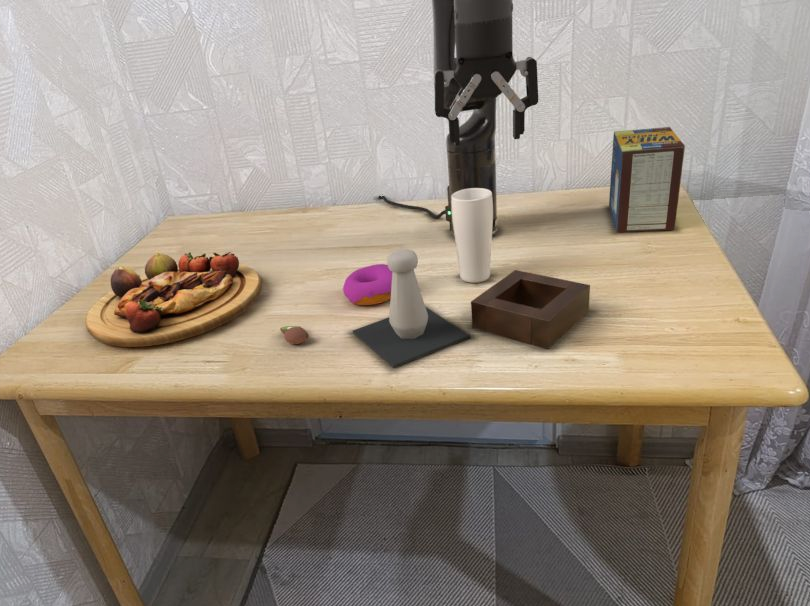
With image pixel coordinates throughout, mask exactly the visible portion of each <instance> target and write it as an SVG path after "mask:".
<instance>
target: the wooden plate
mask: <svg viewBox="0 0 810 606" xmlns="http://www.w3.org/2000/svg"><path fill="white" fill-rule="evenodd" d="M212 254H213V255H214V256H209V257H208V256H207V254H206V253H203V254H201V255H196V256H193V255H192V253H191V251H189V252H187V253H184V254H183V255H181V257H180V258H179V260H178V262H177V261H176V260H175V259H174V258H173V257H171V256H170V255H167V254H162V253H159V252H156V253H154V255H153V256H151V257H150V258H149V260H148V261H147V262H146V264H145V266H144V275H142V276H140V275H139V274H138V273H137V272H136V271H134V270H133V269H132V268H129V267H125V266H121V265H120V266H118V267H117V268H115V270H113V272H112V274H111V276H110V288H111V291H109V292H107V293H106V294H105V295H103V296H102V297H101V298H100V299H98V300H97V301H96V302H94V304H93V305H92V306H91V308H90V309H89V310H88V312H87V313H86V314H87V315H86V318H85V327H86V330H87V332H88V333H89V335H90V336H91V337H92V338H93V339H95V340H97V342H101V343H103V344H106V345H111V346H115V347H125V348H126V347H128V348H129V347H130V348H132V347H133V348H137V347H139V348H140V347H150V346H158V345H164V344H165V345H166V344H170V343H174V342H178V341H183V340H185V339H189V338H193V337H196V336H199V335H202V334H205V333H206V332H209V331H212V330H214V329H216V328H218V327H220V326H222V325H224V324H226V323H228V322H230V321H232V320H234V319H235V318H237V317H238V316H240V315H241V314H242V313H244V312H245V311H246V310H248V309H249V308H250V307H251V306H252V305H253V304H254V303H255V301H256V300H258V297H259V296H260V294H261V291H262V287H263V286H262V284H263V283H262V279H261V276H260V274H259V273H258V272H257V271H256V270H255V269H254V268H252V267H250V266H248V265H247V264H245V263H244V264H243V263H240V260H239V258H238V256H237V255H235V253H232V252H231V251H229V252H226V253H225V254H222V255H220V254H218V253H217V252H212ZM177 263H178V264H177Z"/></svg>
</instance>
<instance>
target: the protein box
mask: <svg viewBox="0 0 810 606" xmlns="http://www.w3.org/2000/svg"><path fill="white" fill-rule="evenodd" d="M685 150H686V145H685V143H683V142H682V140H681V138H679V136H678V135H677V134H676V133H675V131H674V130H673V129H672V128H671V127H670V126H664V127H651V128H640V129H628V130H617V131H616V130H615V131H613V136H612V152H611V154H612V155H611V169H610V170H611V171H610V181H609V182H610V184H609V199H608V208H609V211H610V215H611V218H612V223H613V226H614V230H615V233H631V232H655V231H656V232H657V231H674V230H675V229H676V224H677V223H676V222H677V221H676V220H677V213H678V207H679V200H680V199H679V198H680V191H681V183H682V174H683V165H684V158H685Z"/></svg>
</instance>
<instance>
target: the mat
mask: <svg viewBox="0 0 810 606" xmlns="http://www.w3.org/2000/svg"><path fill="white" fill-rule="evenodd" d="M425 307H426V311H427V314H428V321H427V325H426V327H425V330H424V333H423V334H422V335H420V336H418V337H417V338H415V339H402V338H401V337H400V336H398V335H397V334H396V332H395V331H394V329H393V328H392V326H391V324H390V322H389V317H386V318H383V319H380V320H378V321H375V322H371V323H370V324H367V325H364V326H362V327H359V328H356V329H354V330H353V329H352V334H353V335H354V336H355V337H356V338H358V339H359V340H360V341H361V342H362V343H363V344H365V345H366V346H367V347H369V349H371V350H372V351H373V352H374V353H375V354H376V355H378V357H380V359H382V360H383V361H385V362H386V363H387V365H389V366H390V367H392V368H393V369H395V368H398V367H400V366H403V365H405V364H408V363H410V362H413V361H415V360H418V359H420V358H423V357H425V356H428V355H431V354H433V353H435V352H438V351H440V350H443V349H445V348H448V347H450V346H453V345H455V344H458V343H460V342H464V341H466V340H468V339H470V337H471V335H470V334H469V333H467V332H465V331H464V330H463V329H461V328H459V327H457V326H456V325H455V324H454V323H452V322H450V321H449V320H447V319H445V318H444V317H442V316H440V315H439V314H438V313H436V312H434V311H432V310H431V309H430V308H428V307H427V306H425Z"/></svg>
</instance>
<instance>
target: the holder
mask: <svg viewBox="0 0 810 606" xmlns="http://www.w3.org/2000/svg"><path fill="white" fill-rule="evenodd" d="M590 294H591V284H587V283H583V282H578V281H577V282H576V281H574V280H573V281H572V280H568V279H563V278H557V277H552V276H548V275H542V274H537V273H532V272H527V271H523V270H517V269H515V270H513V271H512V272H510V273H508V274H507V275H506V276H504V277H503V278H502V279H500V280H499V281H498V282H496V283H494V284H493V285H492V286H490V287H489V288H488V289H486V290H484V291H483V292H482V293H481V294H479V295H478V296H477V297H475V298H474V299H472V300H471V301H470V310H471V311H470V312H471V314H470V315H471V328H472V329H474V330H479V331H482V332H486V333H489V334H493V335H496V336H499V337H503V338H506V339H511V340H513V341H518V342H521V343H524V344H528V345H530V346H531V345H532V346H535V347H539V348H542V349H545V350H549V348H551V347H552V346H553V345H554V344H555V343H556V342H558V340H560V339H561V338H562V337H563V336H564V335H565V334H566V333H567V332H568V331H570V330H571V329H572V328H573V327H574V326H575V325H576V324H577V323H578V322H580V321H581V320H582V319H583V318H584V317H585V316H586V315H587V314H588V313H589V311H590V296H591V295H590Z"/></svg>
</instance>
